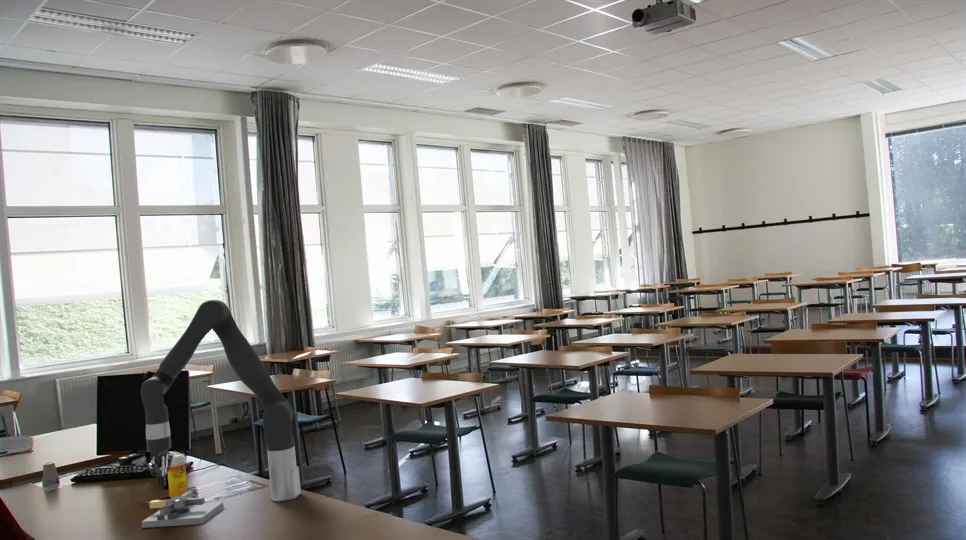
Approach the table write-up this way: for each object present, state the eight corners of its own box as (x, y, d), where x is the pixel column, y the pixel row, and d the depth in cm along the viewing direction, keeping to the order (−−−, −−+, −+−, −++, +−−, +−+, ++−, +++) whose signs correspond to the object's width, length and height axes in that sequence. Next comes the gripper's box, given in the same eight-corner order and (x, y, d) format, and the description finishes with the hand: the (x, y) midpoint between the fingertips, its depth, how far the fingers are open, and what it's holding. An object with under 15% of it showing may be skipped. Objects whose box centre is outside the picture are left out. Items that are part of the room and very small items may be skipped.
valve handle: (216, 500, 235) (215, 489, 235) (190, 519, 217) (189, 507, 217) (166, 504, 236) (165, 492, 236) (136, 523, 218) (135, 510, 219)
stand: (223, 507, 233) (222, 497, 233) (202, 523, 218) (201, 513, 218) (167, 511, 235) (166, 501, 235) (142, 527, 220) (141, 517, 220)
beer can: (180, 499, 249) (177, 457, 249) (166, 499, 250) (162, 458, 250) (191, 493, 255) (187, 453, 255) (176, 493, 256) (173, 453, 256)
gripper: (158, 439, 227) (162, 492, 227) (178, 430, 240) (182, 480, 240) (136, 441, 227) (140, 493, 227) (158, 432, 241) (161, 481, 240)
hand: (162, 486), depth 233 cm, fingers closed
